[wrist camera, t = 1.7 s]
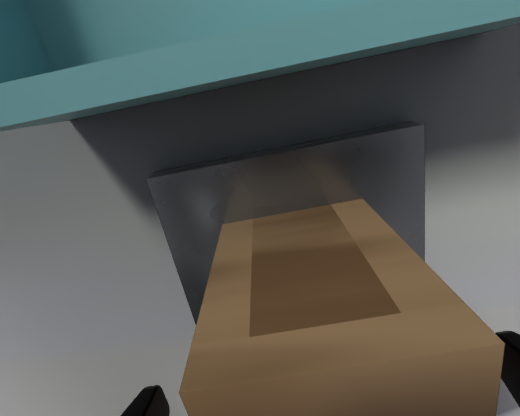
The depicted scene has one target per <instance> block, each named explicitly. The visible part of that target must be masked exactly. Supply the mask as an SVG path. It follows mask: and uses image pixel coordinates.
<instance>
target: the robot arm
mask: <svg viewBox="0 0 520 416" xmlns="http://www.w3.org/2000/svg"><path fill="white" fill-rule="evenodd" d="M495 334H496V335H497V336H498V337H499V338H500V339H501V340H502V341H503V342H504V343H505V347H504V355H503V363H502V371H501V379H502V380H503V382H504V383H505V385H506V386H507V388H508V390H509V391H510V393H511V394H512V396H513V398H514V399H515V401H516V402H517V404H518V405H519V407H520V335H519V334H517V333H515V332H513V331H503V332H497V333H495ZM169 413H170V410H169V404H168V402H167V399H166V397H165V395H164V392H163V390H162V388H161V387H160V386H159V385H155V386H148V387H145V388H144V389H143V390H142V391H141V392H140V393H139V394H138V396H137V397H136V398H135V399H134V400H133V401H132V403H131V404H130V405H129V406H128V407H127V409H126V410H125V411H124V412H123V413H122V415H121V416H169Z"/></svg>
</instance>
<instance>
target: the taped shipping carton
mask: <svg viewBox="0 0 520 416" xmlns="http://www.w3.org/2000/svg"><path fill="white" fill-rule="evenodd" d="M504 347H505V343H504V342H503V341H502V340H501V339H500V338H499V337H498V336H497V335H496V334H495V333H494V332H493V331H492V330H491V329H490V328H489V327H488V326H487V325H486V324H485V323H484V322H483V321H482V320H481V319H480V318H479V317H478V316H477V315H476V314H475V313H474V312H473V311H472V310H471V309H470V307H469V306H468V305H467V304H466V303H465V302H464V301H463V300H462V299H461V298H460V297H459V296H458V295H457V294H456V293H455V292H454V291H453V290H452V289H451V288H450V287H449V286H448V285H447V284H446V283H445V282H444V281H443V280H442V279H441V278H440V277H439V276H438V275H437V274H436V273H435V272H434V271H433V270H432V269H431V268H430V267H429V266H428V265H427V264H426V263H425V262H424V261H423V260H422V259H421V258H420V257H419V256H418V255H417V254H416V253H415V252H414V251H413V249H412V248H411V247H410V246H409V245H408V244H407V243H406V242H405V241H404V240H403V239H402V238H401V237H400V236H399V235H398V234H397V233H396V232H395V231H394V230H393V229H392V228H391V227H390V226H389V225H388V224H387V223H386V222H385V221H384V220H383V219H382V218H381V217H380V216H379V215H378V214H377V213H376V212H375V211H374V210H373V209H372V208H371V207H370V206H369V205H368V204H367V203H366V202H365V201H364V200H363V199H358V200H352V201H347V202H342V203H336V204H331V205H325V206H320V207H314V208H309V209H304V210H298V211H293V212H287V213H282V214H276V215H271V216H266V217H260V218H255V219H249V220H244V221H238V222H233V223H227V224H222V228H221V232H220V236H219V240H218V244H217V247H216V251H215V255H214V259H213V263H212V267H211V271H210V275H209V278H208V282H207V286H206V290H205V294H204V298H203V302H202V306H201V309H200V313H199V317H198V321H197V325H196V329H195V333H194V337H193V340H192V344H191V348H190V352H189V356H188V360H187V364H186V368H185V371H184V375H183V379H182V383H181V387H180V391H179V394H180V396H181V399H182V401H183V404H184V406H185V409H186V411H187V413H188V416H496V411H497V403H498V395H499V387H500V379H501V371H502V363H503V355H504Z"/></svg>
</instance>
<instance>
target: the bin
mask: <svg viewBox="0 0 520 416" xmlns="http://www.w3.org/2000/svg"><path fill="white" fill-rule="evenodd" d="M518 23H520V0H0V131H4V130H10V129H17V128H23V127H29V126H36V125H42V124H49V123H55V122H62V121H68V120H73V119H78V118H82V117H87V116H92V115H96V114H101V113H106V112H111V111H115V110H120V109H125V108H129V107H134V106H139V105H144V104H148V103H153V102H158V101H162V100H167V99H172V98H177V97H181V96H186V95H191V94H196V93H200V92H205V91H210V90H214V89H219V88H224V87H229V86H233V85H238V84H243V83H247V82H252V81H257V80H262V79H266V78H271V77H276V76H280V75H285V74H290V73H295V72H299V71H304V70H309V69H314V68H318V67H323V66H328V65H332V64H337V63H342V62H347V61H351V60H356V59H361V58H365V57H370V56H375V55H380V54H384V53H389V52H394V51H399V50H403V49H408V48H413V47H417V46H422V45H427V44H432V43H436V42H441V41H446V40H450V39H455V38H460V37H465V36H469V35H474V34H479V33H483V32H487V31H491V30H495V29H499V28H503V27H507V26H511V25H515V24H518Z"/></svg>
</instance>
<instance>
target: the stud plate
mask: <svg viewBox="0 0 520 416" xmlns="http://www.w3.org/2000/svg"><path fill="white" fill-rule="evenodd" d="M146 181H147V184H148V187H149V190H150V192H151V195H152V198H153V201H154V204H155V207H156V210H157V213H158V216H159V219H160V222H161V225H162V227H163V230H164V233H165V236H166V239H167V242H168V245H169V248H170V251H171V254H172V257H173V260H174V262H175V265H176V268H177V271H178V274H179V277H180V280H181V283H182V286H183V289H184V292H185V295H186V297H187V300H188V303H189V306H190V309H191V312H192V315H193V318H194V321H195V324H196V325H197V321H198V317H199V313H200V309H201V306H202V302H203V298H204V294H205V290H206V286H207V282H208V278H209V275H210V271H211V267H212V263H213V259H214V255H215V251H216V247H217V244H218V240H219V236H220V232H221V228H222V224H227V223H233V222H238V221H244V220H249V219H255V218H260V217H266V216H271V215H276V214H282V213H287V212H293V211H298V210H304V209H309V208H314V207H320V206H325V205H331V204H336V203H342V202H347V201H352V200H358V199H363V200H364V201H365V202H366V203H367V204H368V205H369V206H370V207H371V208H372V209H373V210H374V211H375V212H376V213H377V214H378V215H379V216H380V217H381V218H382V219H383V220H384V221H385V222H386V223H387V224H388V225H389V226H390V227H391V228H392V229H393V230H394V231H395V232H396V233H397V234H398V235H399V236H400V237H401V238H402V239H403V240H404V241H405V242H406V243H407V244H408V245H409V246H410V247H411V248H412V249H413V251H414V252H415V253H416V254H417V255H418V256H419V257H420V258H421V259H422V260H423V261H424V262H425V124H420V123H415V122H407V123H402V124H396V125H391V126H386V127H381V128H376V129H371V130H366V131H361V132H356V133H351V134H346V135H341V136H336V137H331V138H326V139H320V140H315V141H310V142H305V143H300V144H295V145H290V146H285V147H280V148H275V149H270V150H265V151H260V152H255V153H250V154H244V155H239V156H234V157H229V158H224V159H219V160H214V161H209V162H204V163H199V164H194V165H189V166H184V167H179V168H174V169H168V170H163V171H158V172H154V173H153V174H152V175H150V176H149V177H148V178H147V179H146Z"/></svg>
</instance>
